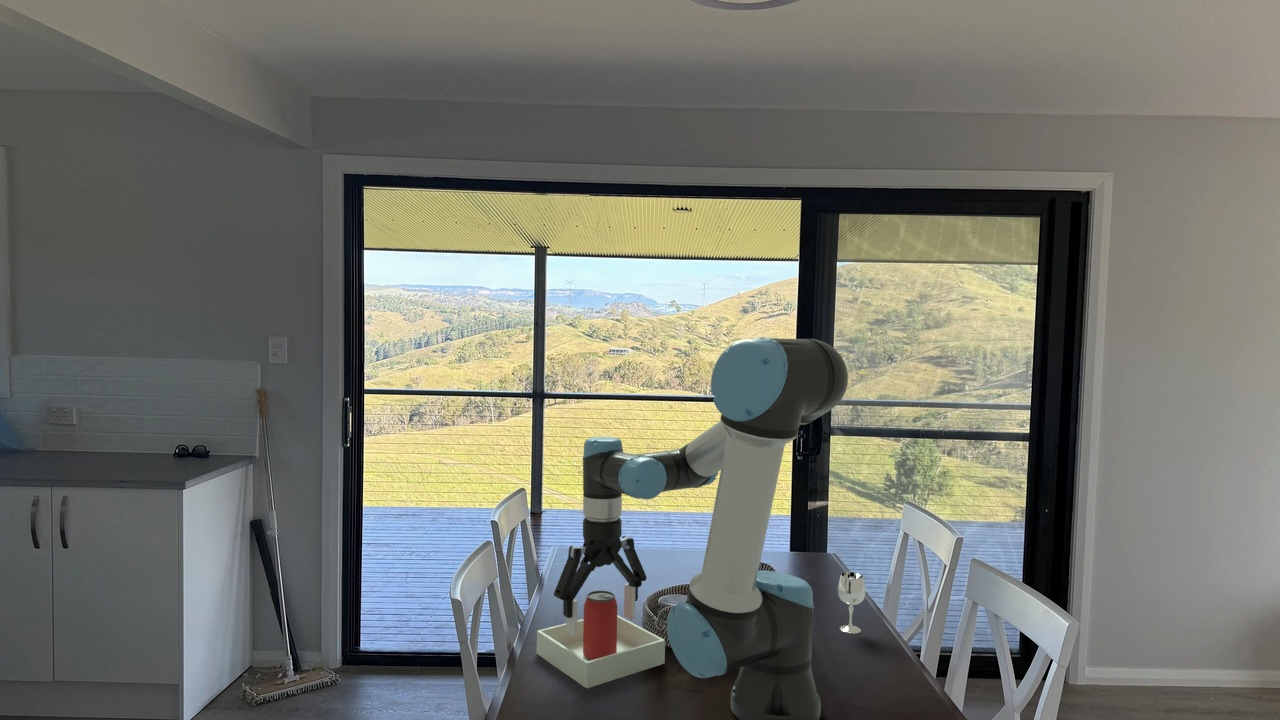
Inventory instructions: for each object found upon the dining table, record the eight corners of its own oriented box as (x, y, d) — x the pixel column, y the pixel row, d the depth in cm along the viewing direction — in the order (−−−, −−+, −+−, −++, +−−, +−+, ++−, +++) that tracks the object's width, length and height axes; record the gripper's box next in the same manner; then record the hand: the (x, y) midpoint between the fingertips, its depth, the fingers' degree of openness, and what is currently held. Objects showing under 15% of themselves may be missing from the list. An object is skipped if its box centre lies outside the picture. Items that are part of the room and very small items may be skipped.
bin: (664, 663, 149) (665, 640, 149) (586, 688, 138) (587, 663, 138) (611, 633, 164) (611, 611, 163) (536, 653, 153) (536, 630, 153)
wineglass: (833, 631, 167) (835, 576, 166) (840, 622, 172) (841, 569, 171) (860, 636, 164) (862, 581, 164) (866, 627, 169) (868, 573, 169)
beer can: (612, 664, 147) (613, 602, 147) (579, 660, 148) (579, 599, 148) (619, 650, 154) (620, 590, 153) (587, 647, 155) (588, 588, 154)
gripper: (641, 505, 160) (640, 606, 161) (536, 522, 145) (535, 633, 146) (664, 512, 154) (663, 617, 155) (557, 530, 139) (556, 646, 140)
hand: (601, 625), depth 150 cm, fingers open, 13 cm apart
